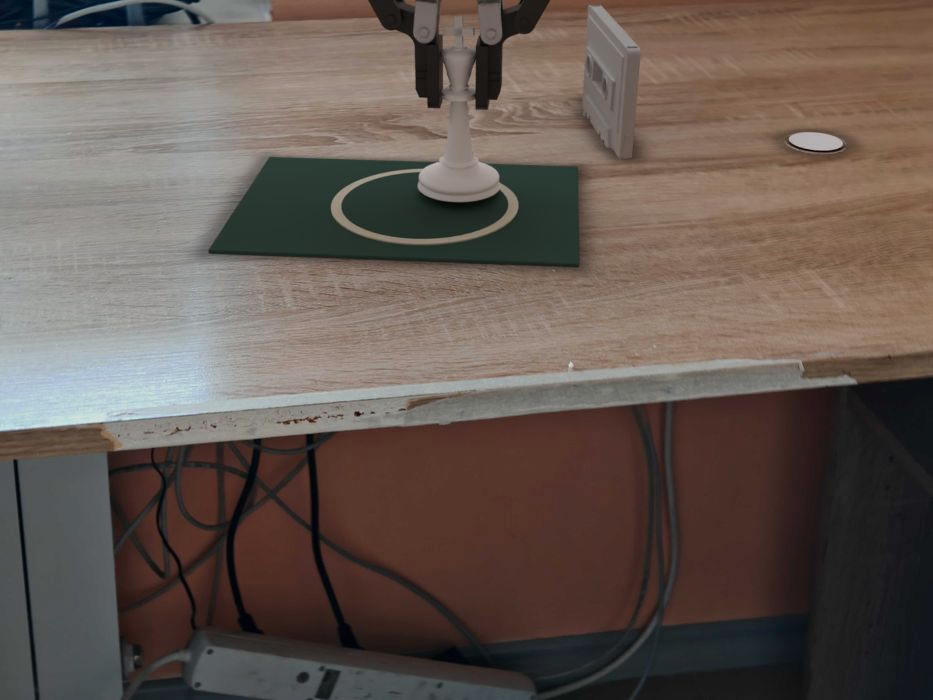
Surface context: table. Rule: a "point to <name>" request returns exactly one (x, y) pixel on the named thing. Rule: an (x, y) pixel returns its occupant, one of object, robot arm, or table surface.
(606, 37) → the cassette
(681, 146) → the table surface
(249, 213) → the desk mat
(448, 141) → the chess piece
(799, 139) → the white rimmed disc
